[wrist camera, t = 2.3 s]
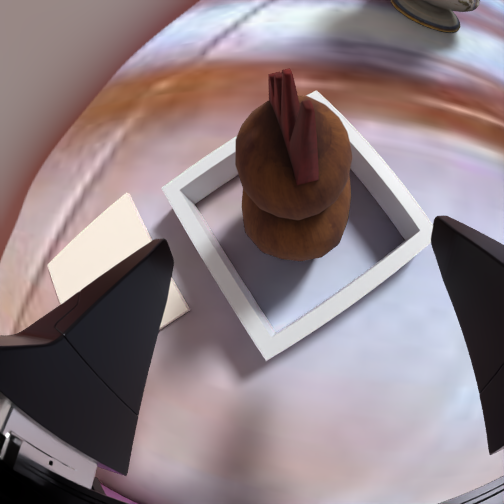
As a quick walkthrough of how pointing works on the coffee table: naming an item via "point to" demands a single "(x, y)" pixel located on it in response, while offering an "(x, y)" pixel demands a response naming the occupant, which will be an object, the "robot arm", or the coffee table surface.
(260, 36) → the coffee table surface
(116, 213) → the tile
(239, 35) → the coffee table surface
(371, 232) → the coffee table surface
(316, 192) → the wooden figurine
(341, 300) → the white square tray
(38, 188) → the coffee table surface
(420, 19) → the apothecary jar
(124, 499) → the teapot
